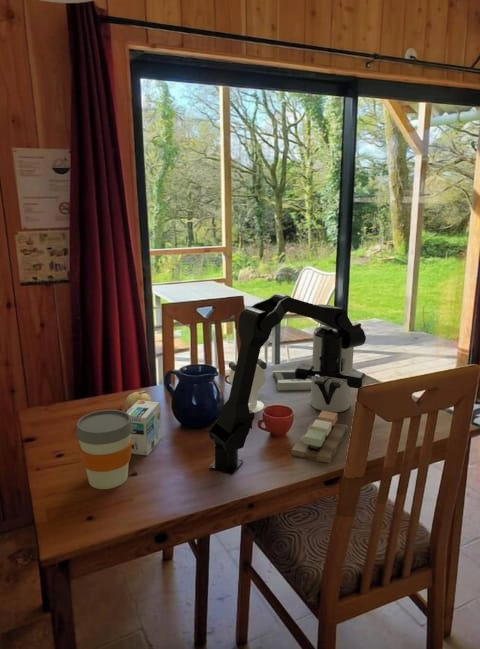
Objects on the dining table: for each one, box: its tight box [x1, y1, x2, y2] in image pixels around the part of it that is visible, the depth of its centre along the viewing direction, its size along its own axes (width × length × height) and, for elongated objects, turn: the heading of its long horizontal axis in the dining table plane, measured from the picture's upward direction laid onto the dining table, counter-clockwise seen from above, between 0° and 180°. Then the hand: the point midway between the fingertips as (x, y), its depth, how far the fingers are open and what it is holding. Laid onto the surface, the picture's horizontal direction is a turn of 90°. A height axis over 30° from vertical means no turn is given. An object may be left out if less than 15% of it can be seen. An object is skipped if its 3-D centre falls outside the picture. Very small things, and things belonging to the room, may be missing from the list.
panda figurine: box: [228, 358, 268, 414], centre depth 155 cm, size 12×11×15 cm
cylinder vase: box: [310, 325, 355, 413], centre depth 155 cm, size 12×12×25 cm
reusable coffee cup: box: [76, 409, 133, 490], centre depth 115 cm, size 13×13×15 cm
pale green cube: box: [304, 429, 326, 450], centre depth 128 cm, size 4×4×4 cm
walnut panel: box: [291, 418, 348, 464], centre depth 134 cm, size 20×10×2 cm, turn 155°
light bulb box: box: [125, 400, 162, 456], centre depth 131 cm, size 11×7×11 cm, turn 168°
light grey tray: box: [272, 370, 312, 391], centre depth 178 cm, size 17×5×16 cm
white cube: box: [311, 419, 332, 437], centre depth 133 cm, size 4×4×4 cm
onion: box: [124, 388, 153, 411], centre depth 152 cm, size 8×8×7 cm
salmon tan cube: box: [317, 411, 339, 426], centre depth 139 cm, size 4×4×4 cm
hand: (328, 404), depth 138 cm, fingers closed
